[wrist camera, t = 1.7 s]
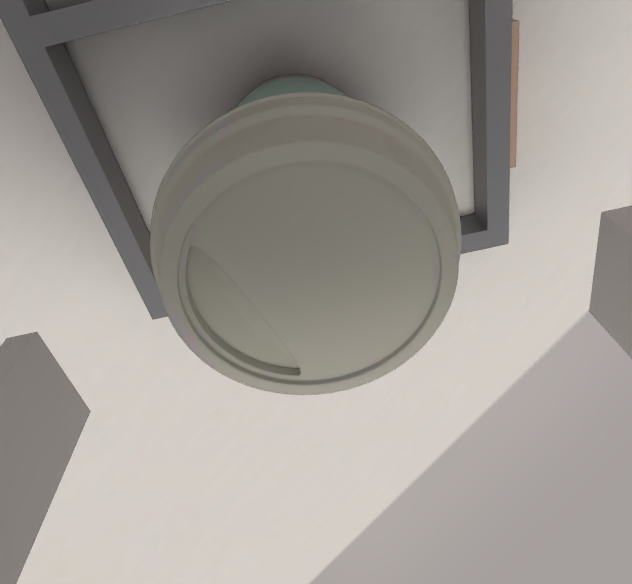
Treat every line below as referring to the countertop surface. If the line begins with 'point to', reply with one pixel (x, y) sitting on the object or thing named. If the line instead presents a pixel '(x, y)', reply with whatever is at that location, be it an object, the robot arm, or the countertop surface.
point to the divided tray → (153, 3)
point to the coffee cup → (305, 240)
